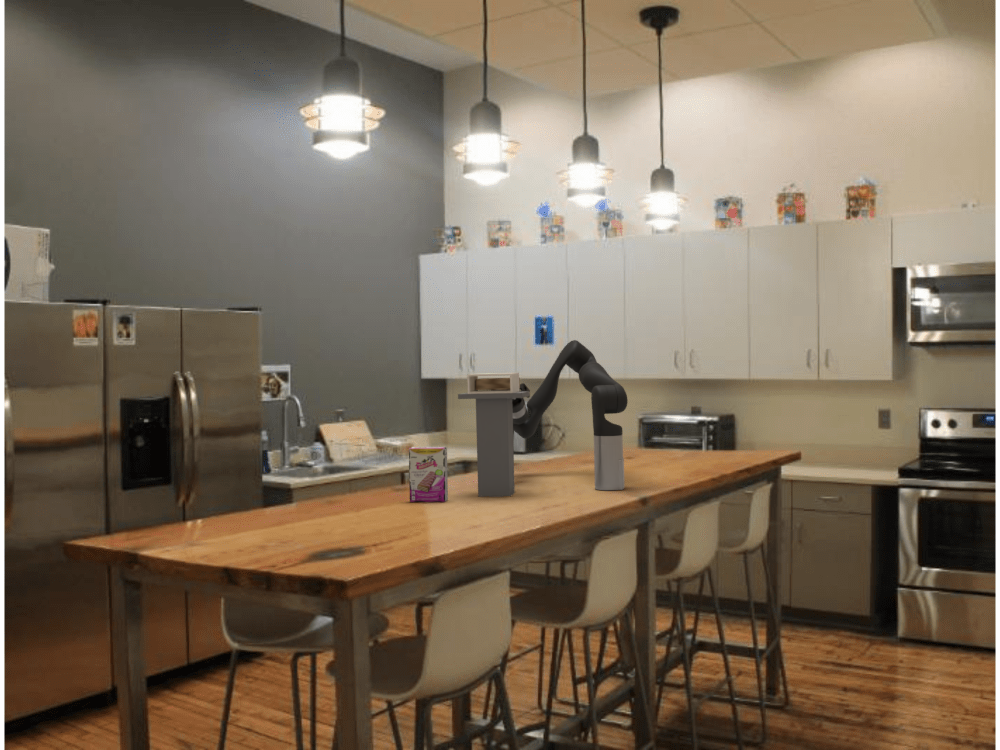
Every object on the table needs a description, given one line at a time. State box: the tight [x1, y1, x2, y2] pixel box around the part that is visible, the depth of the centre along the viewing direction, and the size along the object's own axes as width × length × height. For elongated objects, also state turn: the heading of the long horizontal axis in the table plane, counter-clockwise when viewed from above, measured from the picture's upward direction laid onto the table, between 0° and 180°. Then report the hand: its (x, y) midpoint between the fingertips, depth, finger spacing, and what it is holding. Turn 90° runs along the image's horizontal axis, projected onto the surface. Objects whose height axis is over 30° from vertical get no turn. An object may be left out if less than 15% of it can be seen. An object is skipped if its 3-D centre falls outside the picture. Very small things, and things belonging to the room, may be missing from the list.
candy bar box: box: [408, 446, 449, 503], centre depth 298 cm, size 11×5×16 cm, turn 84°
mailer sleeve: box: [466, 372, 520, 394], centre depth 308 cm, size 14×12×6 cm
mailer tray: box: [476, 377, 521, 391], centre depth 320 cm, size 12×22×3 cm, turn 169°
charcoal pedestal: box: [457, 391, 529, 498], centre depth 308 cm, size 20×13×32 cm, turn 79°
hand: (505, 380), depth 326 cm, fingers open, 5 cm apart
